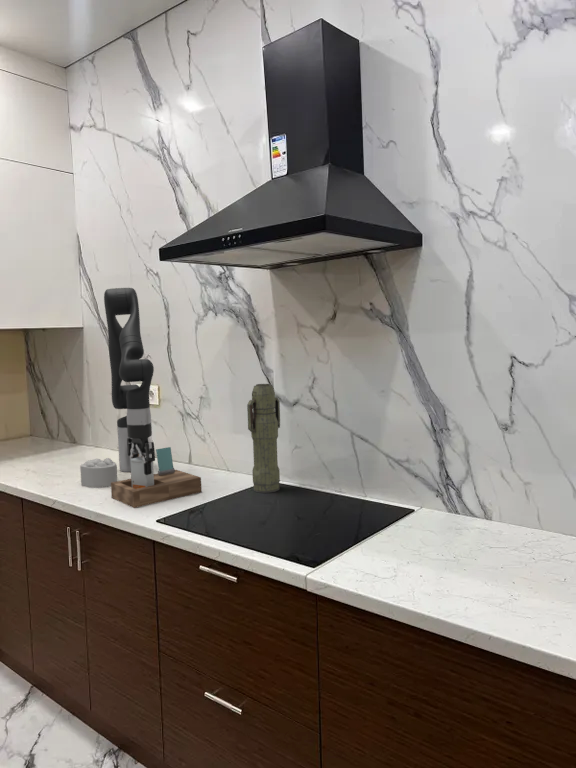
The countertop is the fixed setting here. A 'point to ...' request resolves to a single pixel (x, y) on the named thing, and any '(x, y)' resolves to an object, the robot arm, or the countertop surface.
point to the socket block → (157, 489)
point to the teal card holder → (165, 461)
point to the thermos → (264, 437)
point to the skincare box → (140, 474)
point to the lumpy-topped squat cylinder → (98, 473)
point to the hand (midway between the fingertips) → (141, 472)
